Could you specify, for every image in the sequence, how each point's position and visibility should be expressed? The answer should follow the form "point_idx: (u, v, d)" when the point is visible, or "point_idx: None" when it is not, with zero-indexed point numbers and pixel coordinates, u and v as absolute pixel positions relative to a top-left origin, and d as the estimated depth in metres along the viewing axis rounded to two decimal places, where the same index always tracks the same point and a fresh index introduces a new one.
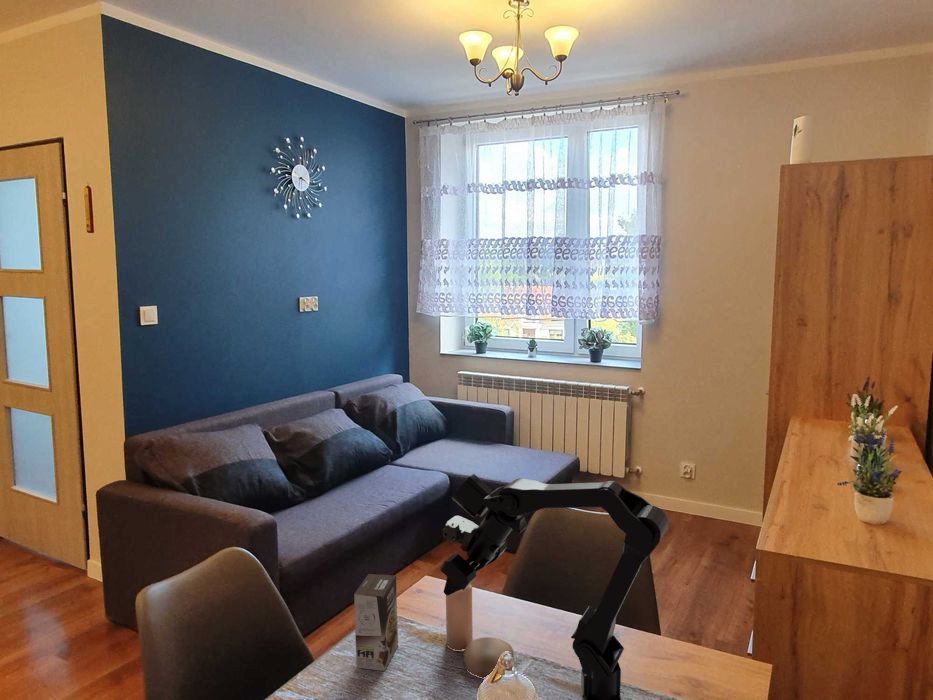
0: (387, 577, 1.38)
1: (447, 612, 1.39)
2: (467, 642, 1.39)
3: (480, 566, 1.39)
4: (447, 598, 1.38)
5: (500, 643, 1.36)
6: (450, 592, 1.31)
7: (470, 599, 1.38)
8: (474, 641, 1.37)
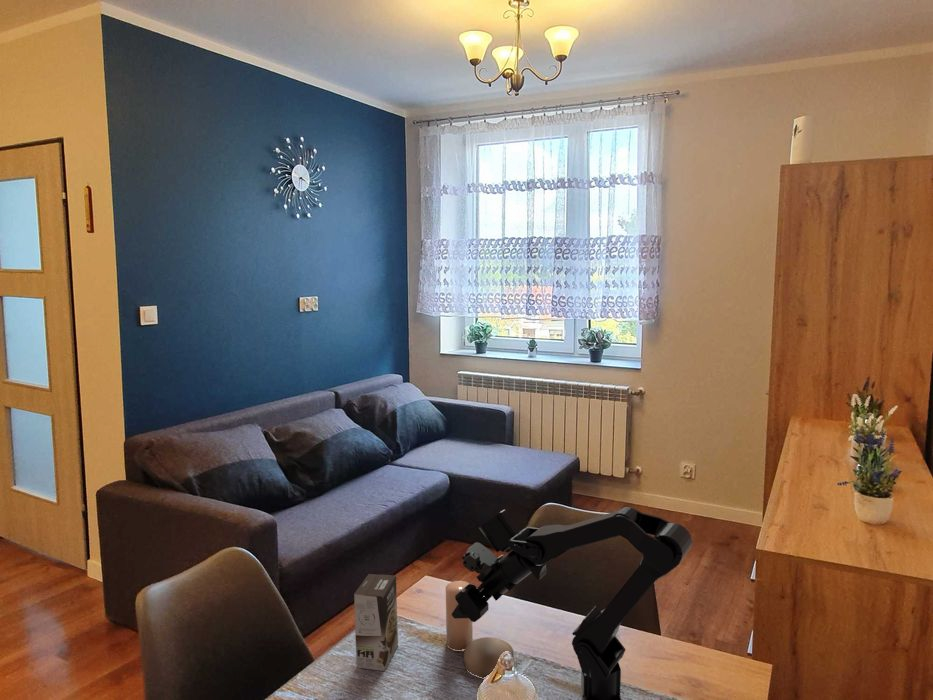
0: (387, 577, 1.38)
1: (447, 612, 1.39)
2: (467, 642, 1.39)
3: None
4: (447, 598, 1.38)
5: (500, 643, 1.36)
6: (458, 616, 1.34)
7: None
8: (474, 641, 1.37)
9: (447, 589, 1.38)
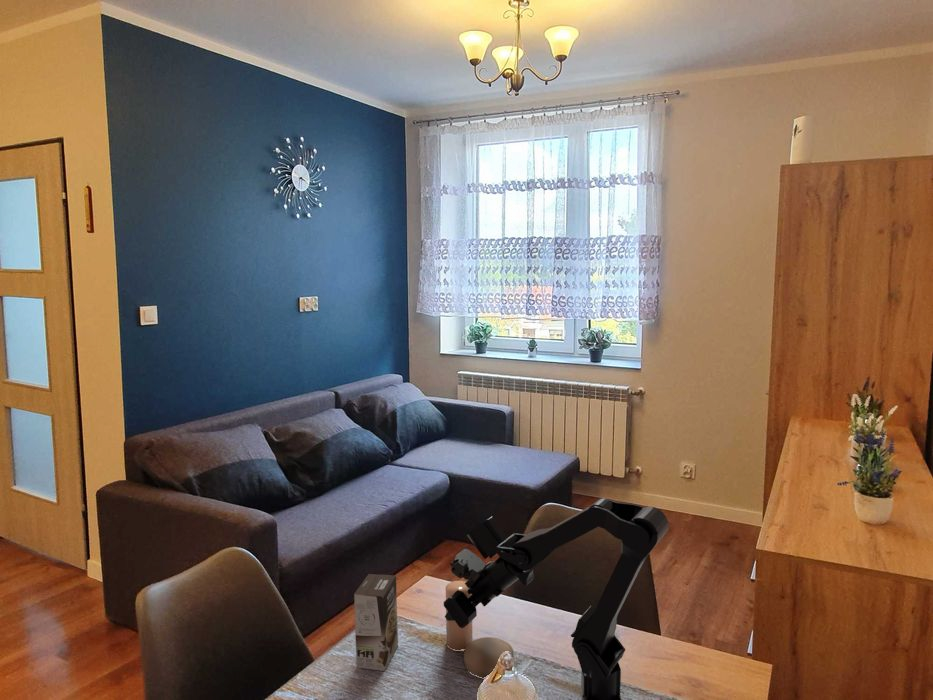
0: (387, 577, 1.38)
1: None
2: (467, 642, 1.39)
3: None
4: (447, 598, 1.38)
5: (500, 643, 1.36)
6: (451, 619, 1.37)
7: None
8: (474, 641, 1.37)
9: (447, 589, 1.38)
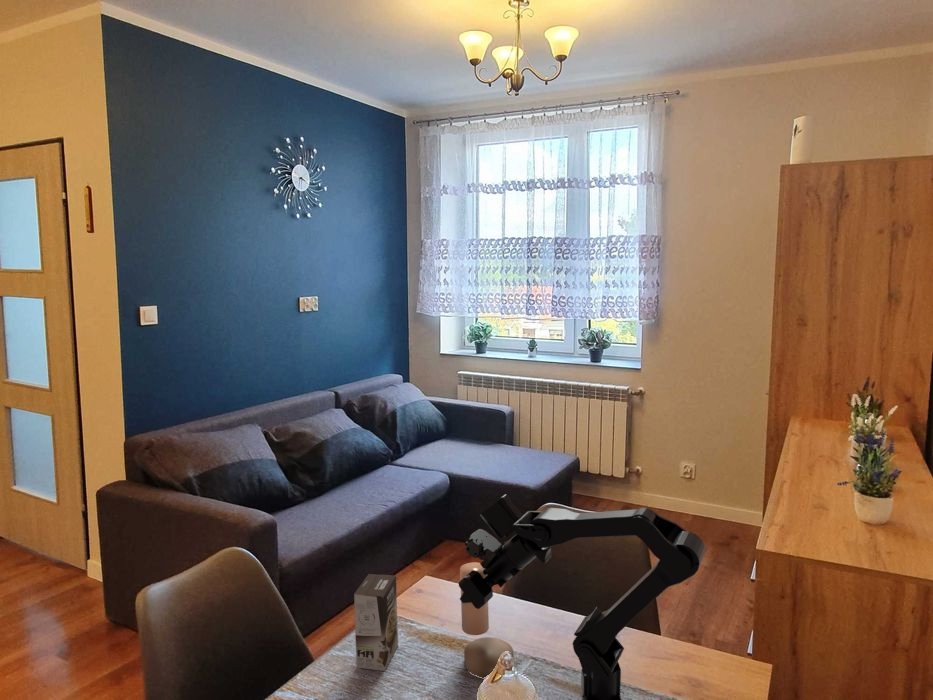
0: (387, 577, 1.38)
1: None
2: (483, 625, 1.34)
3: None
4: None
5: (500, 643, 1.36)
6: (467, 601, 1.32)
7: None
8: (474, 641, 1.37)
9: (461, 570, 1.34)
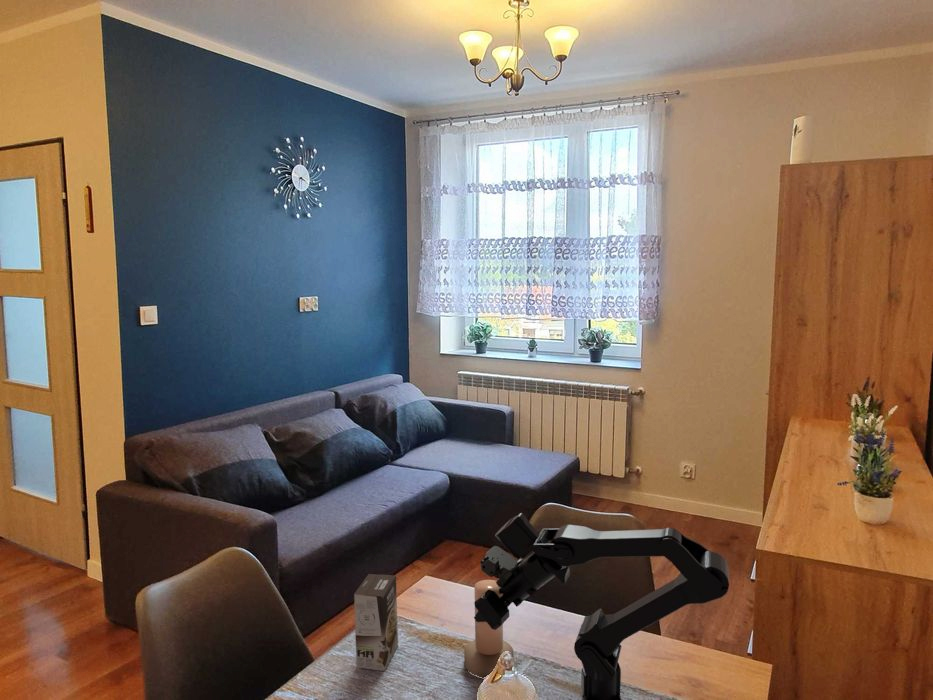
0: (387, 577, 1.38)
1: (476, 613, 1.31)
2: (498, 644, 1.31)
3: None
4: (476, 598, 1.30)
5: None
6: (481, 620, 1.29)
7: None
8: (474, 641, 1.37)
9: (476, 588, 1.31)
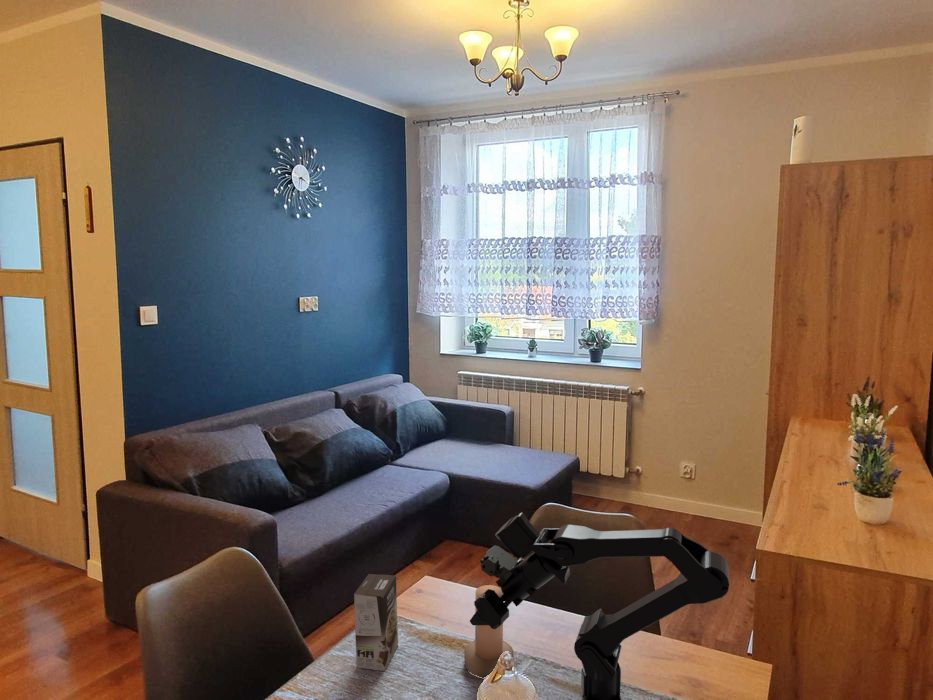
0: (387, 577, 1.38)
1: None
2: (497, 650, 1.31)
3: None
4: None
5: None
6: (477, 623, 1.28)
7: None
8: (474, 641, 1.37)
9: (477, 594, 1.31)
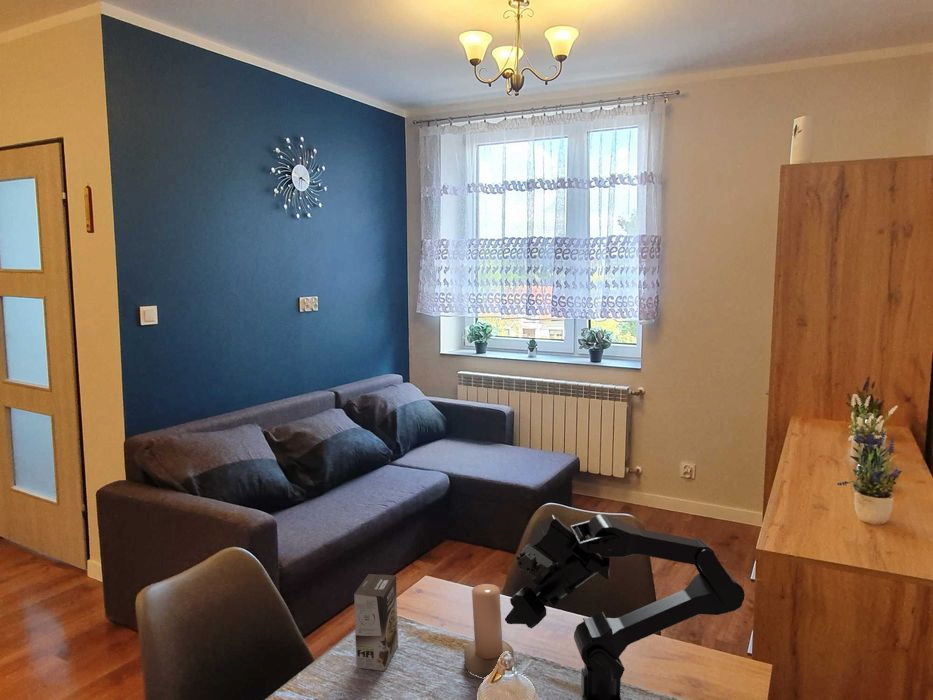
0: (387, 577, 1.38)
1: (475, 617, 1.31)
2: (497, 648, 1.31)
3: None
4: (474, 602, 1.31)
5: None
6: (512, 622, 1.23)
7: (498, 602, 1.31)
8: (474, 641, 1.37)
9: (474, 593, 1.31)
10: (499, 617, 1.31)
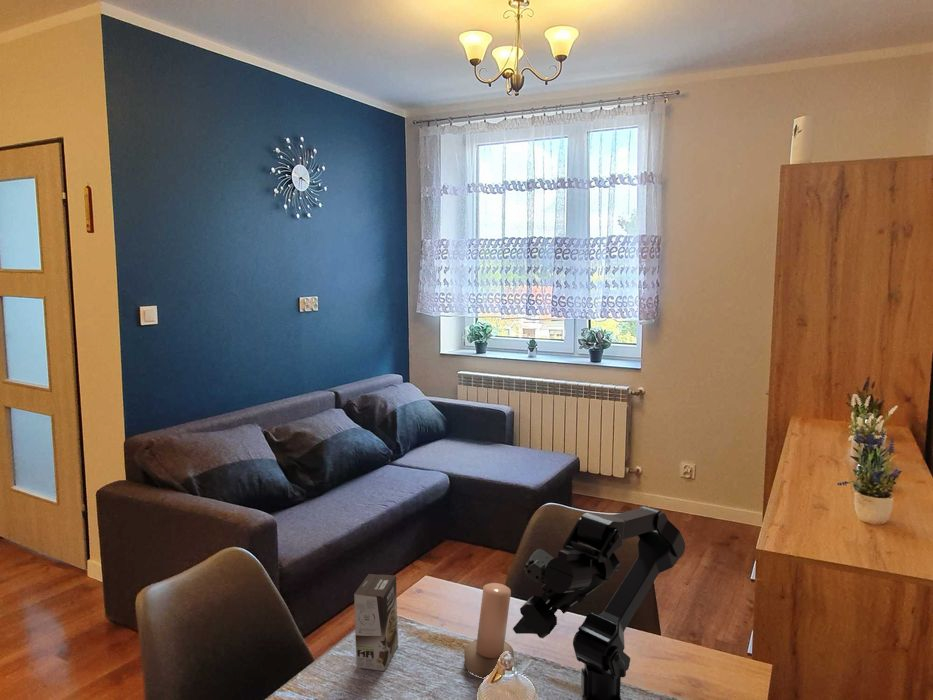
0: (387, 577, 1.38)
1: (483, 615, 1.31)
2: (501, 648, 1.32)
3: None
4: (485, 600, 1.31)
5: None
6: (521, 632, 1.20)
7: (509, 602, 1.32)
8: (474, 641, 1.37)
9: (486, 591, 1.31)
10: (507, 617, 1.32)
